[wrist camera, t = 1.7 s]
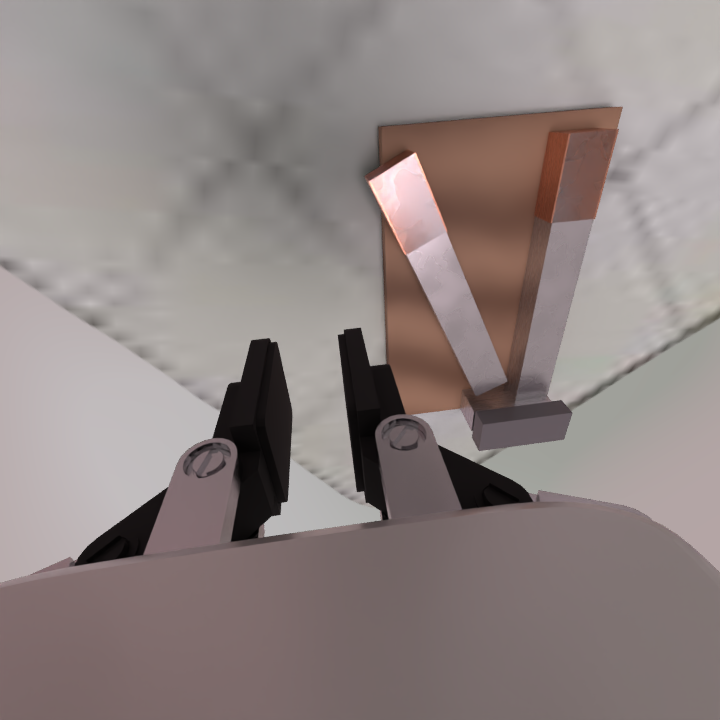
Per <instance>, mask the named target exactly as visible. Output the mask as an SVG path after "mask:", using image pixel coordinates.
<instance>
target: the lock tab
mask: <svg viewBox="0 0 720 720" xmlns="http://www.w3.org/2000/svg"><path fill="white" fill-rule="evenodd" d="M571 416H572V412H571V411H570V409H569V408H568V407H567V406H566V405H565V404H564V403H563V401H562V400H560V401H552V402H544V403H536V404H529V405H521V406H513V407H505V408H498V409H490V410H482V411H476V412H475V419H474V427H473V435H472V438H473V440H474V442H475V444H476V446H477V448H478V450H479V451H482V450H490V449H497V448H505V447H512V446H519V445H527V444H534V443H542V442H549V441H556V440H563V439H564V438H565V435H566V431H567V428H568V425H569V422H570V419H571Z"/></svg>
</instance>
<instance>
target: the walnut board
mask: <svg viewBox="0 0 720 720" xmlns="http://www.w3.org/2000/svg"><path fill="white" fill-rule="evenodd" d="M622 108H623V107H604V108H592V109H581V110H569V111H557V112H545V113H534V114H522V115H510V116H498V117H487V118H475V119H463V120H451V121H440V122H428V123H416V124H404V125H393V126H381V127H378V130H379V158H380V166H381V165H383V164H385V163H386V162H388V161H389V160H391V159H392V158H394V157H396V156H397V155H399V154H400V153H402V152H404V151H405V150H407V149H408V150H410V151H413V152H416V155H417V157H418V159H419V162H420V164H421V167H422V169H423V172H424V174H425V177H426V179H427V181H428V184H429V186H430V189H431V191H432V194H433V196H434V199H435V201H436V204H437V206H438V208H439V211H440V213H441V216H442V218H443V221H444V223H445V226H446V228H447V235H448V237H449V240H450V242H451V245H452V247H453V249H454V252H455V254H456V257H457V259H458V262H459V264H460V267H461V269H462V271H463V274H464V276H465V279H466V281H467V284H468V286H469V288H470V291H471V293H472V296H473V298H474V301H475V303H476V305H477V308H478V310H479V313H480V315H481V318H482V320H483V323H484V325H485V327H486V330H487V332H488V335H489V337H490V340H491V342H492V344H493V347H494V349H495V352H496V354H497V357H498V359H499V362H500V364H501V366H502V369H503V371H504V374H505V376H506V375H507V370H508V364H509V358H510V353H511V347H512V342H513V336H514V331H515V325H516V320H517V314H518V309H519V303H520V297H521V292H522V286H523V281H524V275H525V270H526V264H527V259H528V253H529V247H530V242H531V236H532V231H533V225H534V220H535V216H534V212H535V207H536V201H537V195H538V190H539V184H540V179H541V173H542V167H543V162H544V156H545V150H546V145H547V139H548V134H549V132H554V131H565V130H577V129H588V128H606V129H617V127H618V123H619V119H620V115H621V112H622ZM381 215H382V243H383V272H384V300H385V328H386V357H387V364H390V366H391V369H392V372H393V375H394V378H395V381H396V385H397V388H398V391H399V394H400V397H401V400H402V403H403V406H404V410H405V413H406V414H407V415H412V414H420V413H428V412H436V411H443V410H451V409H459V408H460V404H461V394H462V390H465V389H472V388H471V387H470V385H469V383H468V382H467V380H466V378H465V376H464V374H463V372H462V370H461V368H460V366H459V363H458V361H457V359H456V357H455V355H454V353H453V351H452V349H451V347H450V345H449V343H448V341H447V339H446V337H445V335H444V333H443V331H442V329H441V327H440V325H439V323H438V321H437V319H436V317H435V315H434V313H433V311H432V309H431V307H430V305H429V303H428V301H427V299H426V297H425V295H424V293H423V291H422V289H421V287H420V284H419V282H418V280H417V278H416V276H415V274H414V272H413V270H412V268H411V266H410V264H409V262H408V260H407V258H406V256H405V254H404V253H403V251H402V250H401V248H400V247H399V245H398V243H397V241H396V239H395V237H394V235H393V233H392V231H391V229H390V227H389V225H388V223H387V221H386V219H385V217H384V215H383V213H382V211H381ZM501 385H505V383H504V384H501Z"/></svg>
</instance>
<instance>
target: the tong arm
mask: <svg viewBox="0 0 720 720" xmlns="http://www.w3.org/2000/svg"><path fill="white" fill-rule="evenodd" d="M364 177H365V179H366V181H367V183H368V185H369V187H370V189H371V191H372V193H373V195H374V197H375V199H376V201H377V203H378V205H379V207H380V209H381V211H382V213H383V215H384V217H385V219H386V221H387V223H388V225H389V227H390V229H391V231H392V233H393V235H394V237H395V239H396V241H397V243H398V245H399V247H400V248H401V250H402V251H403V253H404V254H405V256H406V258H407V260H408V262H409V264H410V266H411V268H412V270H413V272H414V274H415V276H416V278H417V280H418V282H419V284H420V287H421V289H422V291H423V293H424V295H425V297H426V299H427V301H428V303H429V305H430V307H431V309H432V311H433V313H434V315H435V317H436V319H437V321H438V323H439V325H440V327H441V329H442V331H443V333H444V335H445V337H446V339H447V341H448V343H449V345H450V347H451V349H452V351H453V353H454V355H455V357H456V359H457V361H458V363H459V366H460V368H461V370H462V372H463V374H464V376H465V378H466V380H467V382H468V383H469V385H470V387H471V388H472V390H473V392H474V394H475V395H476V396H478V395H480V394H482V393H485V392H487V391H489V390H491V389H493V388H495V387H497V386H499V385H501V384H504V383H506V382H508V381H507V379H506V376H505V374H504V371H503V369H502V366H501V364H500V362H499V359H498V357H497V354H496V352H495V349H494V347H493V344H492V342H491V340H490V337H489V335H488V332H487V330H486V327H485V325H484V323H483V320H482V318H481V315H480V313H479V310H478V308H477V305H476V303H475V301H474V298H473V296H472V293H471V291H470V288H469V286H468V284H467V281H466V279H465V276H464V274H463V271H462V269H461V267H460V264H459V262H458V259H457V257H456V254H455V252H454V249H453V247H452V245H451V242H450V240H449V237H448V235H447V228H446V226H445V223H444V221H443V218H442V216H441V213H440V211H439V208H438V206H437V204H436V201H435V199H434V196H433V194H432V191H431V189H430V186H429V184H428V181H427V179H426V177H425V174H424V172H423V169H422V167H421V164H420V162H419V159H418V157H417V155H416V152H413V151H410V150H408V149H407V150H405V151H404V152H402V153H400V154H399V155H397V156H396V157H394V158H392V159H391V160H389V161H388V162H386V163H385V164H383V165H381V166H380V167H378V168H377V169H375V170H373V171H372V172H370V173H369V174H367V175H365V176H364Z"/></svg>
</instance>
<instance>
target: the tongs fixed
mask: <svg viewBox="0 0 720 720" xmlns="http://www.w3.org/2000/svg"><path fill="white" fill-rule="evenodd" d="M618 130H619V129H606V128H588V129H577V130H565V131H554V132H549V134H548V139H547V145H546V150H545V156H544V162H543V167H542V173H541V179H540V184H539V190H538V195H537V201H536V207H535V212H534V216H535V220H534V225H533V231H532V236H531V242H530V247H529V253H528V259H527V264H526V270H525V275H524V281H523V286H522V292H521V297H520V303H519V309H518V314H517V320H516V325H515V331H514V336H513V342H512V347H511V353H510V358H509V364H508V370H507V375H506V379H507V381H508V382H506V383H505V385H499V386H497V387H495V388H493V389H491V390H489V391H487V392H485V393H482V394H480V395H478V396H476V395H475V394H474V392H473V390H472V389H465V390H462V394H461V404H460V409H461V411H462V413H463V415H464V417H465V419H466V421H467V423H468V425H469V427H470V429H471V431H473V427H474V419H475V412H476V411H482V410H490V409H498V408H505V407H513V406H521V405H529V404H536V403H544V402H552V401H551V400H550V399H549V398H548V396H547V394H548V390H549V386H550V382H551V379H552V375H553V371H554V367H555V363H556V360H557V356H558V352H559V348H560V344H561V341H562V337H563V333H564V329H565V326H566V322H567V318H568V314H569V310H570V307H571V303H572V299H573V295H574V291H575V288H576V284H577V280H578V276H579V272H580V269H581V265H582V261H583V257H584V253H585V250H586V246H587V242H588V238H589V234H590V231H591V227H592V223H593V219H595V217H596V213H597V209H598V206H599V202H600V198H601V194H602V191H603V187H604V183H605V179H606V176H607V172H608V168H609V164H610V160H611V157H612V153H613V149H614V145H615V142H616V138H617V134H618Z"/></svg>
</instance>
